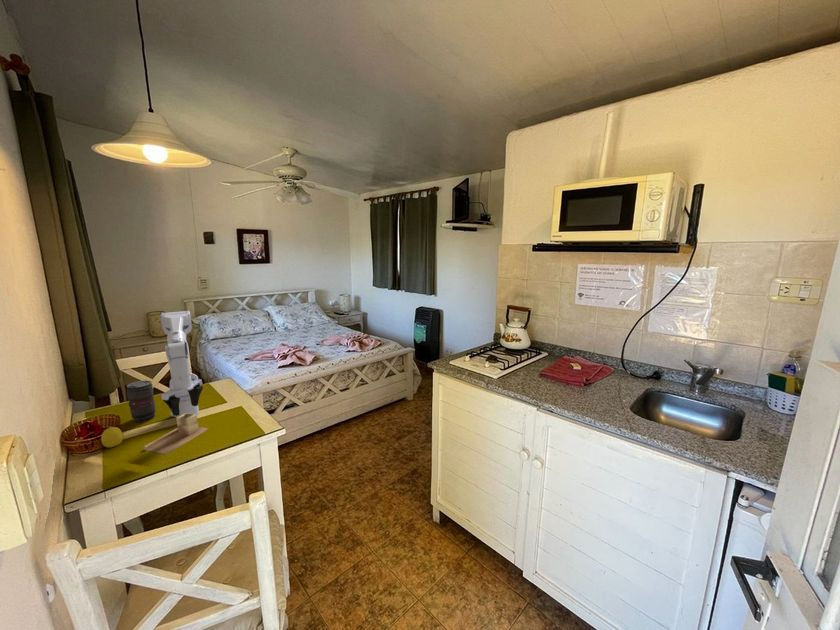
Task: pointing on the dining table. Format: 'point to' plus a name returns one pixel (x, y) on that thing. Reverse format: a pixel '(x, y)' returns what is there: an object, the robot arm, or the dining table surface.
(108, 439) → the lemon
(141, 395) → the camera lens
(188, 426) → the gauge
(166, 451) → the board
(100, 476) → the dining table surface
